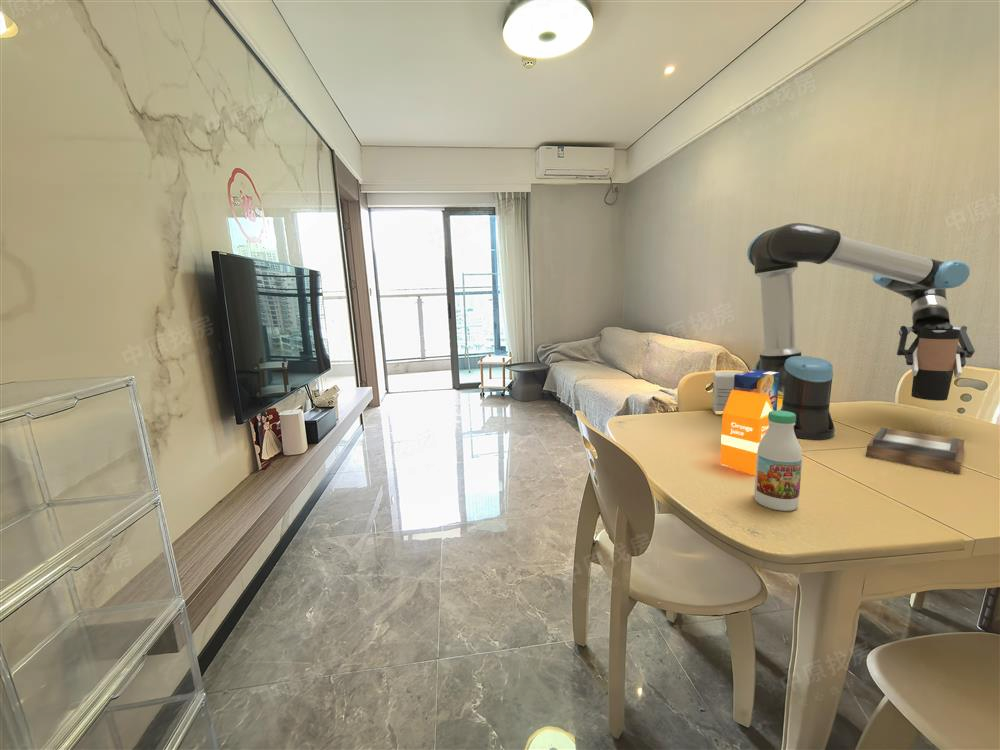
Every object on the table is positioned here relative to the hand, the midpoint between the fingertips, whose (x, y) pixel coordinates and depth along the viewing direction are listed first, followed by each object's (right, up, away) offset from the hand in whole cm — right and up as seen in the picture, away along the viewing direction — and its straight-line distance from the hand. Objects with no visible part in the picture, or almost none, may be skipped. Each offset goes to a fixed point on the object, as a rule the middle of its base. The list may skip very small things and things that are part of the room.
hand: (936, 374), depth 109 cm
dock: (-13, -21, -6) cm, 25 cm away
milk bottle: (-65, -28, -27) cm, 75 cm away
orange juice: (-60, -24, -9) cm, 65 cm away
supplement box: (-37, -15, +38) cm, 55 cm away
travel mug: (+2, -7, +4) cm, 9 cm away
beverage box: (-50, -22, +3) cm, 55 cm away
